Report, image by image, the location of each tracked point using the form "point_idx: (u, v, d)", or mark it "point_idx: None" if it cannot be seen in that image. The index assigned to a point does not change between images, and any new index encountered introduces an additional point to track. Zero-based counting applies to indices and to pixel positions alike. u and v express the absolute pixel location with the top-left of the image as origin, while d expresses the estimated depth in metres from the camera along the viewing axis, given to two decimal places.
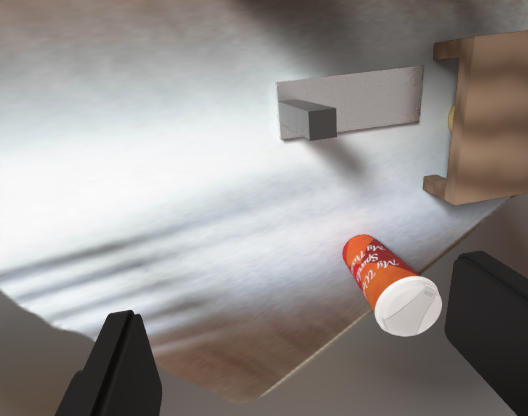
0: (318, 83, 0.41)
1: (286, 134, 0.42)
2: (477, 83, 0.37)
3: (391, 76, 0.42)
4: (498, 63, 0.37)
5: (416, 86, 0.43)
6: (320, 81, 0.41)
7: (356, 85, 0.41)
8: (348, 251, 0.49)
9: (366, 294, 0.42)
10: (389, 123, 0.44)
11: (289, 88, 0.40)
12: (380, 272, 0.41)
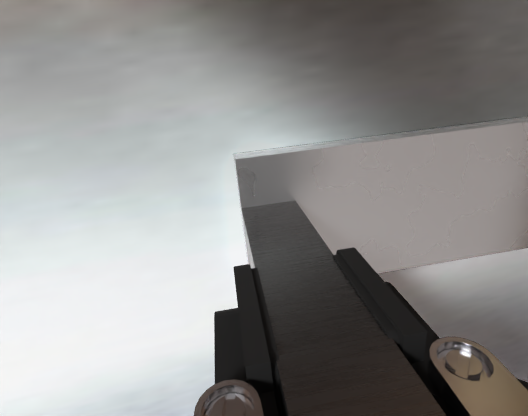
0: (355, 159, 0.15)
1: None
2: None
3: None
4: None
5: None
6: (360, 154, 0.15)
7: (454, 161, 0.15)
8: None
9: None
10: (521, 245, 0.18)
11: (273, 174, 0.14)
12: None
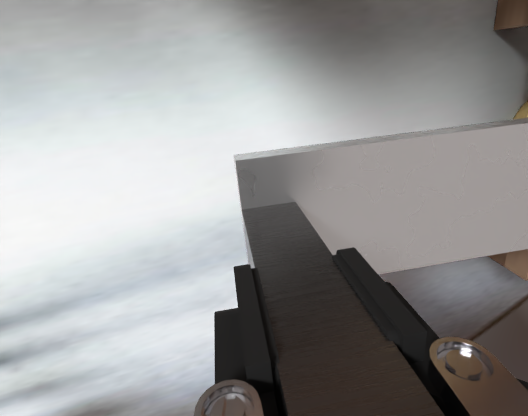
0: (355, 160, 0.15)
1: None
2: None
3: None
4: None
5: None
6: (360, 155, 0.15)
7: (454, 163, 0.15)
8: None
9: None
10: (521, 246, 0.18)
11: (273, 175, 0.14)
12: None
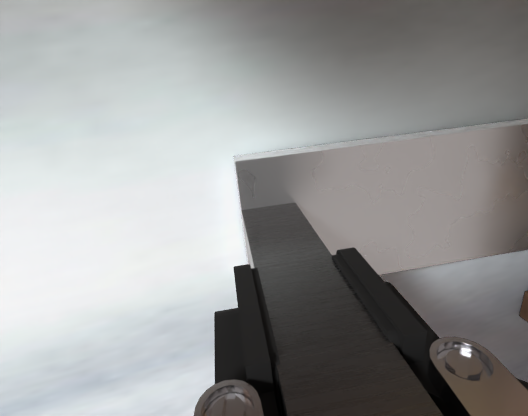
0: (355, 161, 0.15)
1: None
2: None
3: None
4: None
5: None
6: (359, 156, 0.15)
7: (453, 163, 0.15)
8: None
9: None
10: (521, 247, 0.18)
11: (273, 176, 0.14)
12: None
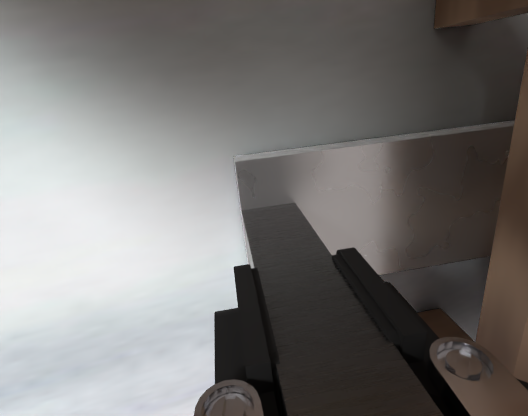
0: (354, 161, 0.15)
1: None
2: None
3: None
4: None
5: None
6: (359, 156, 0.15)
7: (453, 163, 0.15)
8: None
9: None
10: None
11: (273, 176, 0.14)
12: None
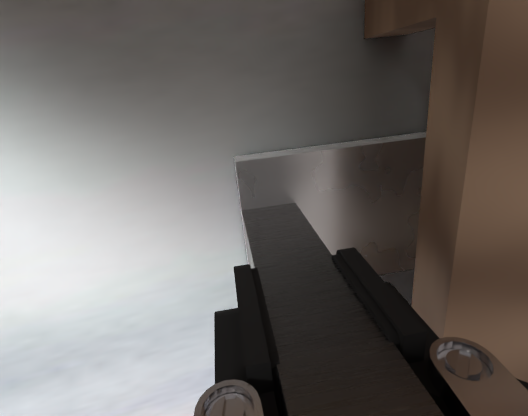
0: (355, 161, 0.15)
1: None
2: (506, 119, 0.09)
3: None
4: None
5: None
6: (359, 156, 0.15)
7: None
8: None
9: None
10: None
11: (273, 176, 0.14)
12: None
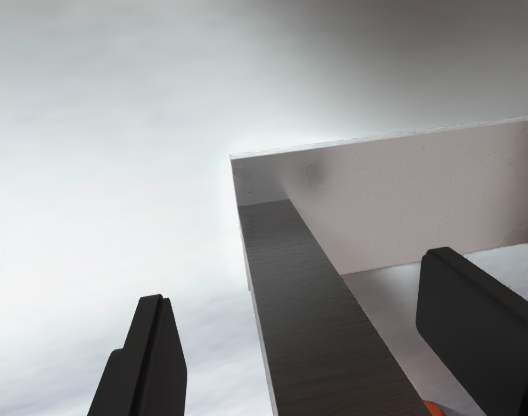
0: (347, 159, 0.15)
1: None
2: None
3: None
4: None
5: None
6: (351, 154, 0.15)
7: (443, 161, 0.16)
8: None
9: None
10: (510, 242, 0.18)
11: (267, 173, 0.15)
12: None
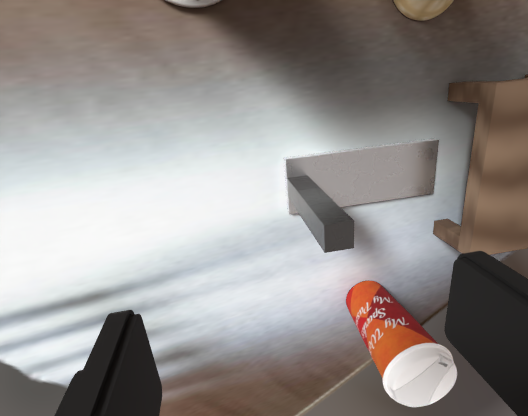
0: (330, 159, 0.39)
1: (295, 209, 0.40)
2: (497, 131, 0.34)
3: (405, 150, 0.40)
4: (521, 111, 0.34)
5: (431, 160, 0.41)
6: (331, 157, 0.39)
7: (369, 160, 0.40)
8: (352, 300, 0.46)
9: (372, 355, 0.39)
10: (402, 196, 0.42)
11: (299, 165, 0.39)
12: (388, 333, 0.37)
